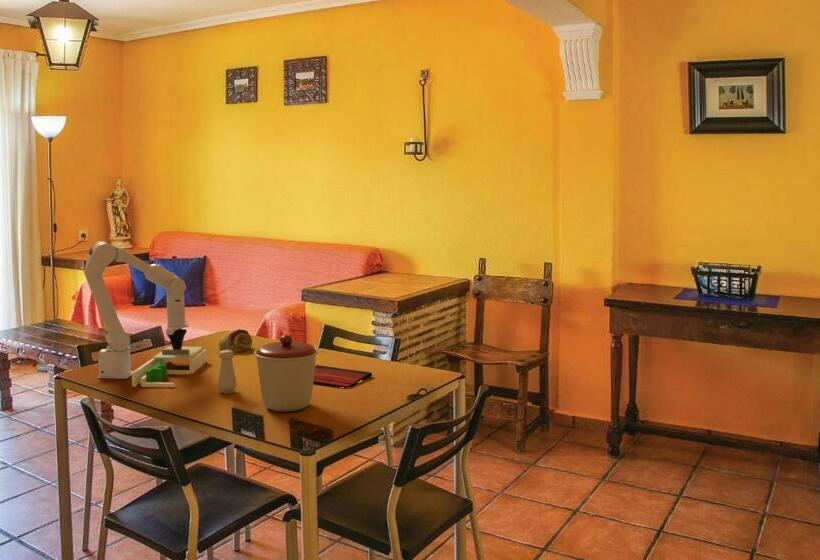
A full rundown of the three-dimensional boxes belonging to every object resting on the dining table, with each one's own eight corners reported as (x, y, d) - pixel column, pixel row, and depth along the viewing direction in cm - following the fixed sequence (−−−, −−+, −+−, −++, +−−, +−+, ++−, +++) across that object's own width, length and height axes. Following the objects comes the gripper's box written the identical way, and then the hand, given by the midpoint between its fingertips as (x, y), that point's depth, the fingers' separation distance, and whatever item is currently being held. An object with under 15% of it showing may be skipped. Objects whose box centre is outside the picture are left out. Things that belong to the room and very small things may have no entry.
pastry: (242, 354, 287) (242, 333, 285) (211, 352, 290) (211, 331, 288) (259, 346, 300) (259, 325, 299) (229, 344, 303) (229, 323, 302)
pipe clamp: (158, 385, 247) (157, 371, 246) (146, 385, 247) (145, 371, 246) (170, 375, 258) (169, 362, 257) (159, 375, 258) (158, 361, 257)
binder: (317, 364, 266) (372, 371, 258) (317, 370, 267) (372, 378, 258) (291, 377, 252) (348, 385, 243) (291, 384, 252) (348, 393, 244)
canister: (242, 412, 220) (241, 338, 217) (276, 394, 237) (274, 326, 234) (299, 420, 214) (298, 344, 211) (329, 401, 231) (329, 331, 228)
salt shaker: (219, 396, 235) (218, 353, 233) (215, 391, 240) (214, 349, 238) (239, 393, 238) (238, 351, 236) (234, 388, 243) (233, 347, 241)
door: (153, 358, 259) (152, 352, 259) (169, 347, 274) (168, 342, 274) (188, 359, 259) (188, 353, 258) (203, 348, 274) (202, 342, 274)
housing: (132, 386, 244) (131, 372, 244) (167, 361, 275) (166, 348, 275) (176, 387, 244) (176, 373, 243) (206, 362, 275) (206, 349, 274)
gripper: (180, 316, 256) (182, 356, 258) (194, 308, 270) (195, 346, 272) (159, 315, 256) (160, 356, 258) (174, 307, 270) (175, 346, 272)
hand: (177, 351), depth 265 cm, fingers closed
